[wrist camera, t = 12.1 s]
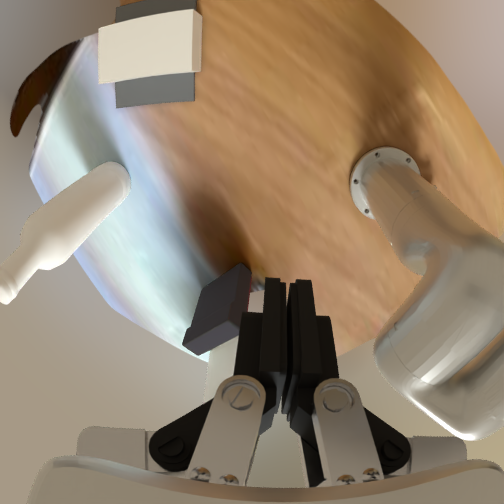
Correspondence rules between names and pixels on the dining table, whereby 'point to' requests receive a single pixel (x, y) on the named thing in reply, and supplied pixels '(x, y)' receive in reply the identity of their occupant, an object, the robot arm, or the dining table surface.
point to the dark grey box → (219, 311)
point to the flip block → (150, 46)
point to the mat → (162, 85)
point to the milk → (220, 367)
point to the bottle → (63, 225)
